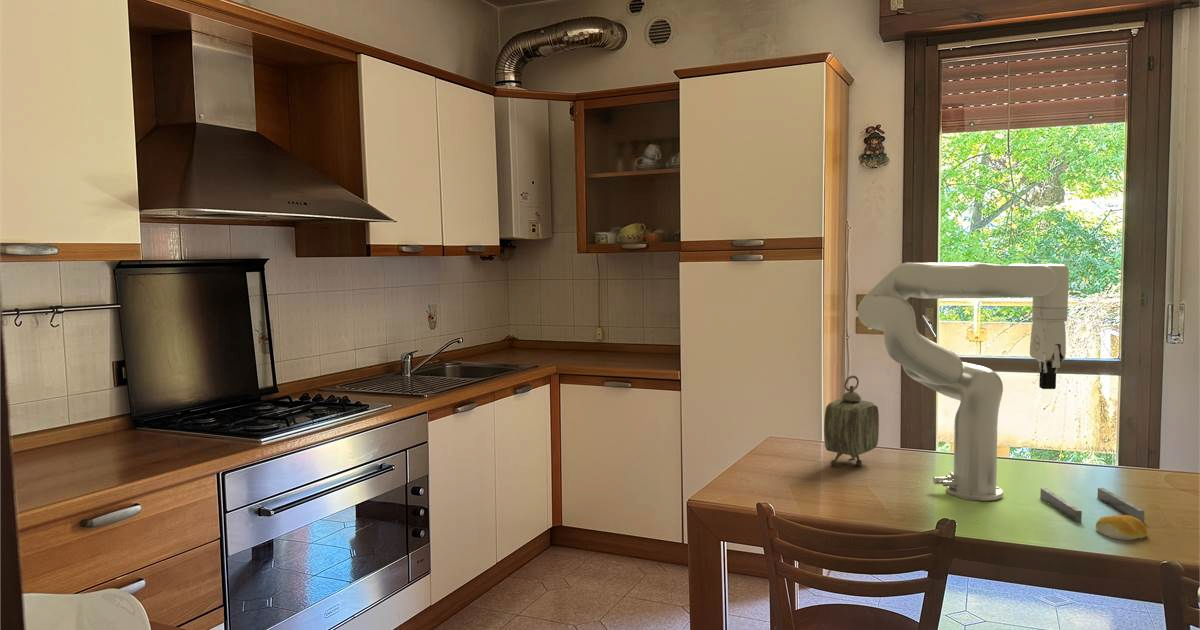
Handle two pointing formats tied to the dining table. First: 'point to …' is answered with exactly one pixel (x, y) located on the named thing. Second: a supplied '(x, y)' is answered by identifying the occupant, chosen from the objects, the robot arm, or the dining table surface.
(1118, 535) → the bread roll
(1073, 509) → the chute
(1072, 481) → the dining table surface
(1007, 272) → the robot arm
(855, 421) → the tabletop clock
